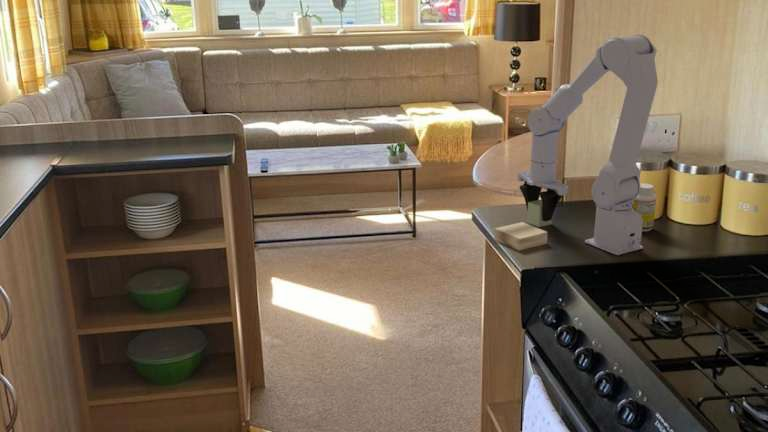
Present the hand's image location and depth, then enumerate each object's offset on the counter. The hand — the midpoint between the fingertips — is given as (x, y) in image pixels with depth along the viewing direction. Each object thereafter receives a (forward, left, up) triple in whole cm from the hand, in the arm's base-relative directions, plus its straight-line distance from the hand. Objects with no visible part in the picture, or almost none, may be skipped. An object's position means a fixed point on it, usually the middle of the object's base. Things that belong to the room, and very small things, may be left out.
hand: (539, 217), depth 184 cm
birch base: (-7, +12, -2) cm, 14 cm away
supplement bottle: (-15, -17, -2) cm, 23 cm away
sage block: (0, 0, -2) cm, 2 cm away
